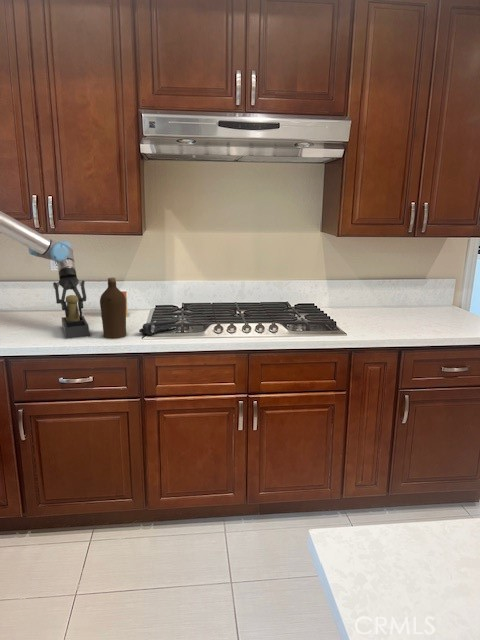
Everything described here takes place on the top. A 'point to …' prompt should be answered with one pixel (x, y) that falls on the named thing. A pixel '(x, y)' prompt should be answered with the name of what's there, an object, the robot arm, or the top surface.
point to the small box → (125, 297)
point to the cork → (72, 308)
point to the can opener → (150, 327)
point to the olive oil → (113, 311)
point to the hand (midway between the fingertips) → (73, 314)
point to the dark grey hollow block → (75, 328)
